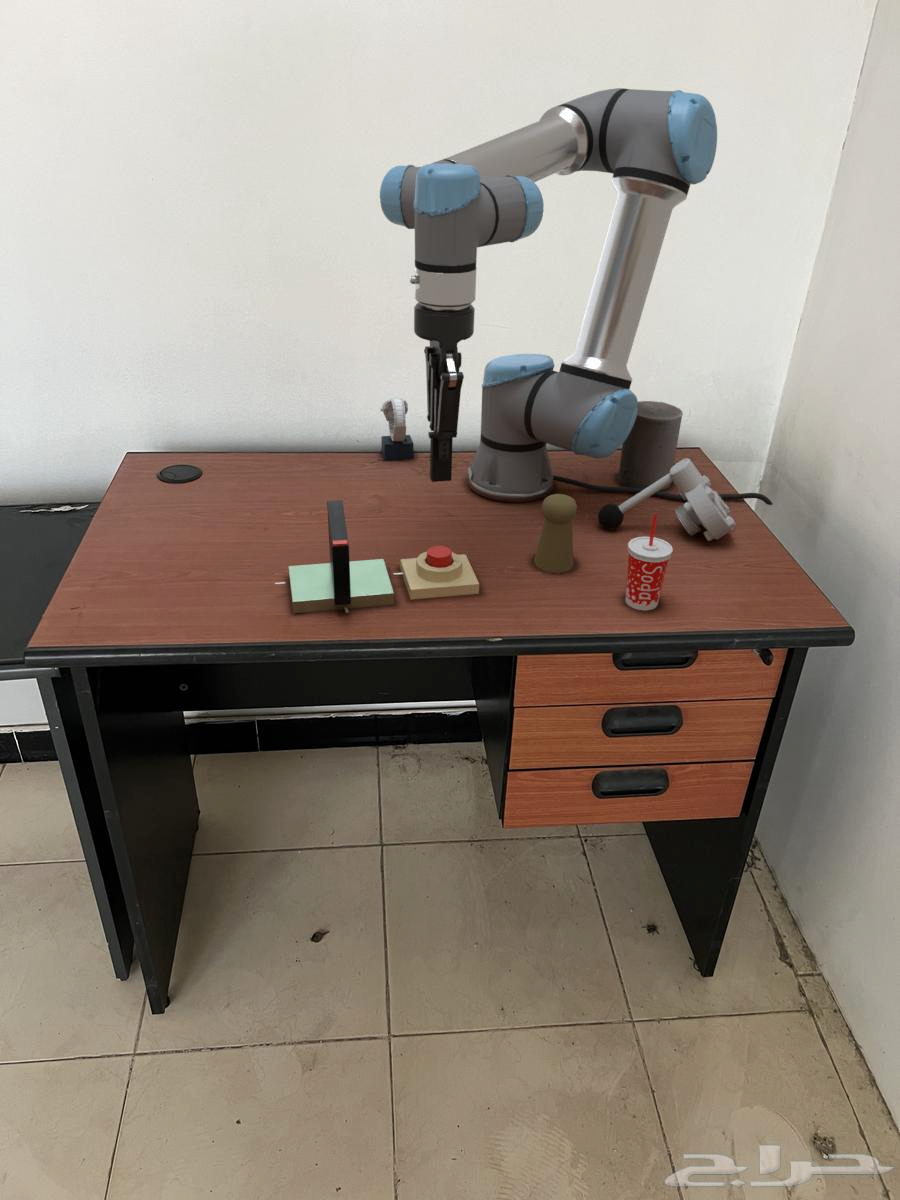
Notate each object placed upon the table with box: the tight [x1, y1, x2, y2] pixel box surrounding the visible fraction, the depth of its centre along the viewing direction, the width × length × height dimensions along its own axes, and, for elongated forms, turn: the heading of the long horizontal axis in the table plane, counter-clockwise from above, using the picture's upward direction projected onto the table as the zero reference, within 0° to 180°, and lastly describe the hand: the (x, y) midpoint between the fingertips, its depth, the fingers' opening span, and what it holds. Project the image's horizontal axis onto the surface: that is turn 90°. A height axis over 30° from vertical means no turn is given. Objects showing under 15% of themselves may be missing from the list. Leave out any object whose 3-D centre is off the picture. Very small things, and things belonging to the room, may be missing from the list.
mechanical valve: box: [597, 457, 736, 542], centre depth 146 cm, size 10×18×15 cm
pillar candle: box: [617, 400, 684, 492], centre depth 161 cm, size 10×10×15 cm
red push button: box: [426, 545, 453, 568], centre depth 129 cm, size 4×4×2 cm
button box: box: [399, 551, 480, 600], centre depth 131 cm, size 10×9×4 cm
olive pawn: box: [533, 493, 578, 574], centre depth 134 cm, size 6×6×11 cm
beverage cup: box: [624, 512, 674, 611], centre depth 124 cm, size 6×6×14 cm
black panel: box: [326, 499, 351, 605], centre depth 125 cm, size 14×2×9 cm, turn 9°
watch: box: [379, 396, 414, 461], centre depth 169 cm, size 6×8×11 cm
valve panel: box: [274, 558, 403, 615], centre depth 128 cm, size 18×18×2 cm
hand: (440, 478), depth 123 cm, fingers closed
